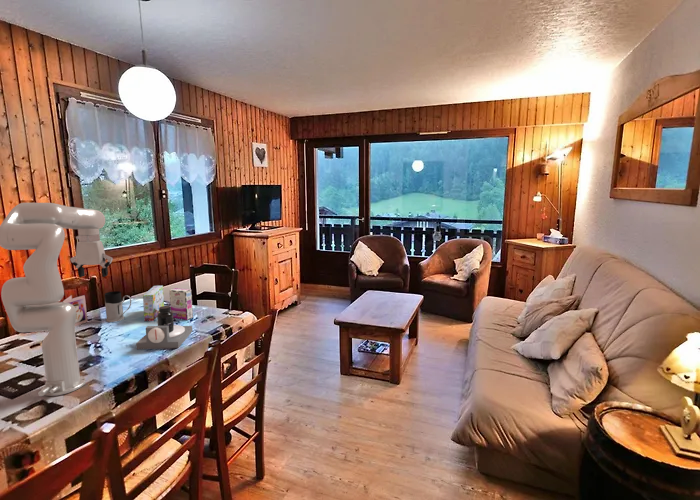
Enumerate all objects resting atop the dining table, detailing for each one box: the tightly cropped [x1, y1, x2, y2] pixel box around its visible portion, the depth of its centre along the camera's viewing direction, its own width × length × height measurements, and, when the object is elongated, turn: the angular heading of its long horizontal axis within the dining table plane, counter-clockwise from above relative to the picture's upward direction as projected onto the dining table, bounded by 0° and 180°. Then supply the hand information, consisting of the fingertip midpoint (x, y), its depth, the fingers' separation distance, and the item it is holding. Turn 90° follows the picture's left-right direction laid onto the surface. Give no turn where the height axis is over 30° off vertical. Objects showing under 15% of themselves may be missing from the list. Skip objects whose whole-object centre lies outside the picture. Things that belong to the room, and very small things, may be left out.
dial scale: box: [135, 324, 193, 350], centre depth 173 cm, size 21×18×10 cm
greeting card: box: [62, 294, 88, 327], centre depth 191 cm, size 11×7×15 cm, turn 165°
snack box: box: [142, 285, 165, 322], centre depth 208 cm, size 21×6×15 cm, turn 13°
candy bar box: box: [169, 287, 194, 321], centre depth 203 cm, size 11×5×16 cm, turn 73°
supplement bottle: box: [156, 305, 175, 333], centre depth 174 cm, size 7×7×12 cm
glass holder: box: [104, 290, 132, 323], centre depth 200 cm, size 9×14×15 cm, turn 88°
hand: (93, 276), depth 164 cm, fingers open, 9 cm apart
